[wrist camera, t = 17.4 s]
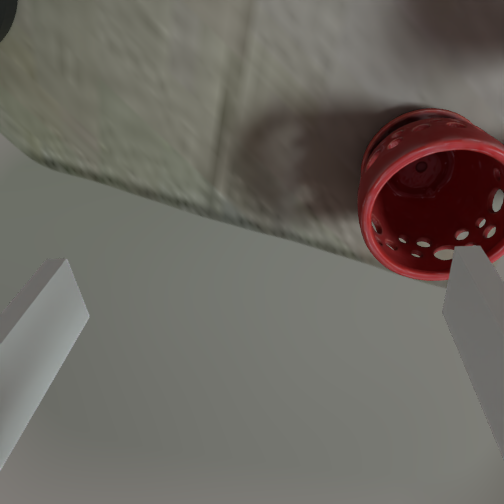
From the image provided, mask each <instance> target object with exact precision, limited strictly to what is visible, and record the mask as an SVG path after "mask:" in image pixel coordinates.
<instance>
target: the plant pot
mask: <svg viewBox="0 0 504 504" xmlns="http://www.w3.org/2000/svg"><path fill="white" fill-rule="evenodd" d="M499 171H500V174H499ZM498 189H501V190H502V191H503V193H504V145H503V144H502V143H501V142H499V141H498V140H497V139H495V138H494V137H492V136H490V135H489V134H487V133H486V132H485V131H483V130H482V129H480V128H479V127H477V126H475V125H473V124H472V123H471V122H470V121H469V120H467V119H466V118H465V117H463V116H461V115H459V114H457V113H455V112H452V111H449V110H444V109H437V108H426V109H419V110H415V111H411V112H408V113H405V114H403V115H401V116H399V117H397V118H395V119H393V120H392V121H390V122H389V123H388V124H386V125H385V126H384V127H383V128H382V129H380V131H379V132H378V133H377V134H376V135H375V136H374V137H373V139H372V140H371V142H370V143H369V145H368V147H367V149H366V151H365V153H364V156H363V160H362V165H361V179H360V184H359V188H358V217H359V224H360V228H361V233H362V236H363V239H364V241H365V243H366V245H367V247H368V249H369V250H370V252H371V253H372V254H373V256H374V257H375V258H376V259H377V260H378V261H379V262H380V263H381V264H383V265H384V266H385V267H386V268H388V269H389V270H391V271H393V272H395V273H397V274H400V275H402V276H406V277H409V278H413V279H419V280H429V281H437V280H449V274H450V269H451V264H452V259H450V260H440V259H438V258H436V257H435V256H434V253H436V252H438V251H440V250H444V249H452V250H454V248H455V246H473V245H476V246H481V248H482V249H483V251H484V252H485V254H486V255H487V257H488V258H489V260H490V262H491V263H493V262H495V261H496V260H497V259H499V258H500V257H501V256H502V255H504V199H503V204H502V206H501V209H500V210H499V211H497V212H494V211H493V208H492V203H493V199H494V195H495V193H496V192H497V190H498ZM483 219H485V220H486V222H485V224H484V226H482V227H481V228H479V224H480V222H481V221H482V220H483ZM371 220H372V221H371ZM372 222H373V223H374V225H375V227H376V230H377V232H376V231H375V230H374V228H373V226H372ZM494 227H496V232H495V234H494V235H493V236H492V237H490V238H487V235H488V233H489V231H490V230H491V229H492V228H494ZM465 231H468V232H469V235H468V236H467V237H466V238H465V239H463V240H457V239H456V238H457V236H458V235H459V234H460V233H462V232H465ZM399 238H402V239H403V240H405V241H406V243H403V242H401V241H400V240H399ZM420 241H424V242H427V243H429V244H430V247H421V246H419V245H417V242H420ZM386 244H387V245H389V246H390V247H392V248H393V249H394V250H392V249H391V248H390V247H388V246H387V245H386ZM411 254H417V255H419V256H420V257H415V256H413V255H411Z"/></svg>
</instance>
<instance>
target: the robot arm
mask: <svg viewBox="0 0 504 504" xmlns="http://www.w3.org/2000/svg"><path fill="white" fill-rule="evenodd" d="M17 1H18V0H0V42H1V41H2V40H3V38H4V37H5V36H6V34H7V33H8V31H9V29H10V28H11V25H12V23H13V20H14V17H15V14H16V9H17ZM442 312H443V315H444V317H445V320H446V322H447V325H448V327H449V330H450V332H451V334H452V337H453V339H454V342H455V344H456V346H457V349H458V351H459V353H460V356H461V358H462V361H463V363H464V366H465V368H466V370H467V373H468V375H469V378H470V380H471V383H472V385H473V387H474V390H475V392H476V395H477V397H478V399H479V402H480V404H481V407H482V409H483V411H484V414H485V416H486V419H487V421H488V424H489V426H490V428H491V431H492V433H493V436H494V438H495V440H496V443H497V445H498V447H499V450H500V452H501V455H502V457H503V460H504V282H503V280H502V279H501V277H500V276H499V274H498V272H497V271H496V269H495V268H494V266H493V265H492V263H491V262H490V260H489V258H488V257H487V255H486V254H485V252H484V251H483V249H482V248H481V246H455V248H454V253H453V259H452V264H451V269H450V274H449V280H448V285H447V290H446V295H445V300H444V306H443V311H442ZM89 317H90V316H89V313H88V311H87V308H86V306H85V303H84V301H83V298H82V296H81V293H80V290H79V288H78V285H77V283H76V280H75V278H74V275H73V272H72V270H71V267H70V265H69V262H68V260H67V258H55V259H46V260H45V262H44V263H43V264H42V265H41V266H40V267H39V269H38V270H37V271H36V272H35V273H34V275H33V276H32V277H31V278H30V279H29V281H28V282H27V283H26V284H25V285H24V286H23V288H22V289H21V290H20V291H19V292H18V294H17V295H16V296H15V297H14V298H13V300H12V301H11V302H10V303H9V304H8V306H7V307H6V308H5V309H4V310H3V312H2V313H1V314H0V470H1V469H2V467H3V465H4V464H5V462H6V460H7V458H8V457H9V455H10V453H11V451H12V450H13V448H14V446H15V445H16V443H17V441H18V439H19V438H20V436H21V434H22V432H23V431H24V429H25V427H26V426H27V424H28V422H29V420H30V419H31V417H32V415H33V413H34V412H35V410H36V408H37V407H38V405H39V403H40V402H41V400H42V398H43V396H44V394H45V393H46V391H47V389H48V388H49V386H50V384H51V383H52V381H53V379H54V377H55V376H56V374H57V372H58V370H59V369H60V367H61V365H62V364H63V362H64V360H65V358H66V357H67V355H68V353H69V352H70V350H71V348H72V346H73V345H74V343H75V341H76V339H77V338H78V336H79V334H80V332H81V331H82V329H83V327H84V325H85V324H86V322H87V320H88V319H89Z"/></svg>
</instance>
